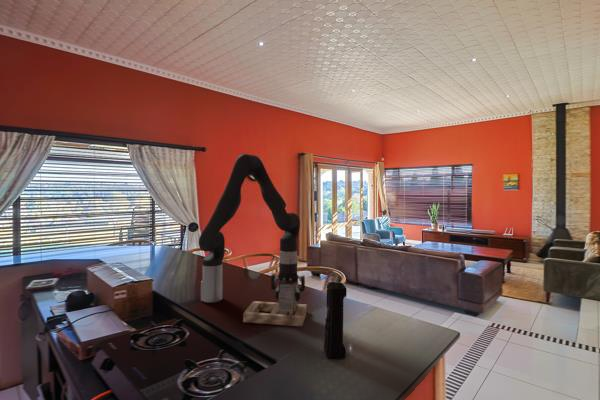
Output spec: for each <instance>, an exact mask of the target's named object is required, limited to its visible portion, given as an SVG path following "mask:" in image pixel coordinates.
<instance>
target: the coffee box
mask: <svg viewBox="0 0 600 400" xmlns="http://www.w3.org/2000/svg"><path fill="white" fill-rule="evenodd" d="M296 284H298V285H299V279H298V280H297V281H289V280H285V281H282V280H281V281H280V280H279V283H278V285H279V300H278V303H279V306H278V314H285V315H295V313H296V311H297V304H298V302H297V301H296V293H297V291H296V288H295V285H296Z"/></svg>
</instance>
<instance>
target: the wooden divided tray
mask: <svg viewBox="0 0 600 400" xmlns="http://www.w3.org/2000/svg"><path fill="white" fill-rule="evenodd" d="M278 306H279V302H273V301H260V300H259V301H256V300H254V301H252V302H251V303H250V305H249V306H248V307H247V308H246V309H245V310H244V312H243V314H242V322H243V323H251V324H253V323H254V324H266V325H277V326H279V325H281V326H291V327H292V326H294V327H303V325H304V321H305V319H306V316H307V308H308V307H307V306H308V304H304V303H303V304H302V303H297V311H296V313H295V315H285V314H278ZM267 312H268V313H267ZM269 312H270V313H269Z"/></svg>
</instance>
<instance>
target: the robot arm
mask: <svg viewBox="0 0 600 400" xmlns="http://www.w3.org/2000/svg"><path fill="white" fill-rule="evenodd" d="M248 176H251V177H253V178H254V179H255V181H257V183H258V185H259V188H260V192H261V197H262V199H263V201H264V203H265V204H266V206H267V207H268V209H269V210H270V212H271V214H272V217H273V219H274V220H273V221H274V223H275V224H276V227H278V229H280V230H281V231H283V232H284V233H283V236H281V237H280V239H279V253H278V255H279V256H278V257H279V258H278V259H279V260H278V261H279V263H278V267H279V268H278V274H275V273H273V274H272V275H271V278H270V279H271V281H270V282H271V285H270V289H271V290H274V291H275V299H276V301H279V284H278V285H277V286H276V281H277V279H278V281H279V282H280V281H281V280H282V281H285V280H289V281H297V280H298V281H299V282H300V284H301V285H300V286H299V283H298V284H296V285H295V288H296V291H297V293H296V301H297V303H298V302H299V301H300V299H301V292H304V291H305V289H306V276H305V275H298V251H297V250H298V243H297V242H298V241H297V240H298V237H299V232H300V227H301V220H300V217H299V216H298V214H296V213H294V212H290V213H289V212H287V210H286V208H287V203H286V202H285V200H284V199H283V197H282V195H281V194H280V193H279V192H278V190H277V188H276V187H275V185H274V184H273V182H272V180H271V178H270V175H269V174H268V171H267V170H266V168H265V166H264V163H263V161H262V160H261V159H260V157H258V155H257V156H256V155H254V154H249V153H241V154H240V155H239V156H238V157H237V158H236V159H235V161H234V164H233V167H232V170H231V173H230V176H229V179H228V180H227V183H226V185H225V188H224V190H223V192H222V193H221V196H220V198H219V200H218V202H217V204H216V206H215V209H214V211H213V212H212V214H211V216H210V219H209V220H208V222H207V224H206V226H205V227H204V229H203V230H202V232H201V234H200V236H199V239H198V247H199V249H200V250H201V251H203V252H208V254H207V255H206V256H205V257H204V258H203V259H202V280H201V281H200V301H201V302H203V303H209V304H210V303H211V304H212V303H218V302H220V301H222V300H223V261H224V258H225V245H226V241H225V236H224V234H223V232H222V231H221V229H222V228H224V226H225V225H226V224H228V222H230V221H231V219H233V218H234V216H235V215H236V213H237V211H238V209H239V207H240V206H241V202H242V187H243V185H244V184H243V183H244V182H245V180H246V178H247V177H248Z"/></svg>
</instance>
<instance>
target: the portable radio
mask: <svg viewBox="0 0 600 400" xmlns="http://www.w3.org/2000/svg"><path fill="white" fill-rule="evenodd" d="M345 298H347V287H346V286H345V284H344V283H343V282H342V279H339V280H338V281H330V282H329V281H328V282H327V284H326V318H325V325H324V327H325V328H324V341H323V349H324V352H325V353H324V354H325V356H326V358H327V359H328V360H329V359H335V360H343V358H344V359H346V358H347V357H346V356H347V353H346V351H347V349H346V347H345V345H344V300H345Z"/></svg>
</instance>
